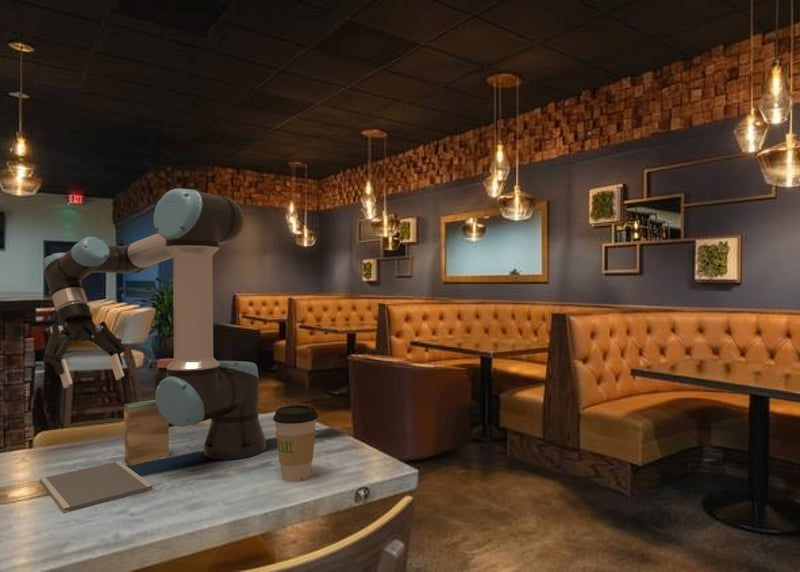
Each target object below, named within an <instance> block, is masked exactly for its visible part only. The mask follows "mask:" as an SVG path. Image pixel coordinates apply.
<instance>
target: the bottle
mask: <svg viewBox="0 0 800 572" xmlns="http://www.w3.org/2000/svg"><path fill="white" fill-rule="evenodd" d="M173 359H174V358H173V357H172V358H168V357H167V358H159V359H157V369H158V372H157V373H156V374H155V375H154V381H153V383H154V385H153V386H154V389H153V390H154V394H153V395H155V393H156V388H157V386H159V383H160V382H161V381H162V380H163V379H165V378H166V377H167V366H168V365H169V364H170V363H171V362H172V361H173ZM154 400H156V399H155V398H154ZM171 427H174V425H172V424H170V423H169V428H171Z"/></svg>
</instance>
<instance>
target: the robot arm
mask: <svg viewBox="0 0 800 572" xmlns="http://www.w3.org/2000/svg"><path fill="white" fill-rule="evenodd" d="M153 224H154V228H155V230H156V231H157V233H155V234H152V235H150V236H147V237H144V238H142V239H140V240H139V239H138V240H136V241H134V242H131V243H129V244H127V245H122V246H121V245H111V244H110V245H107V243H106V242H105V241H104V240H102V239H100V238H98V237H96V236H87V237H86V236H85V237H84V238H82V239H81V240H80V241H78V242H77V243H75V244H74V245H73V247H72V248H70V249H69V250H68V251H67V252H57V253H56V252H55V253H51V255H48V256H46V257H44V259H43V260H42V267H43V276H44V277H45V280H46V284H47V287H48V289H49V292H50V295H51V299H52V302H53V304H54V308H55V311H56V316H57V319H58V322H59V324H58V323H54V324H52V325H51V326H50V327H49V328H48V335H49V337H48V340H47V344H46V348H45V351H44V355H43V358H42V361H43V362H44V363H49V364H50V365H51V366H53V367H54V371H55V374H56V375H57V376H59V377H60V380H61V383H62V386H63V389H67V388H69V387H70V386H71V385H72V384H73V380H72V377H71V373H70V370H69V366H68V363H67V360H66V359H65V358H63V356H64V355H65V353H66V351H68V349H69V347H70V345H71V344H72V342H75V343H77V342H87V341H88V342H89V343H93V344H94V345H96V346H97V347H98V348H99V349H101V350H102V351H104V352H105V353H107V354H108V355H109V356H110V357H109V362H110V365H111V369H112V372H113V374H114V377H115V380H116V381H119V380H121V379H122V378H123V377H125V373H124V371H123V365H124V363H123V360H122V357H121V354H123V352H125V351H126V350H127V349H126V347H125V345H124V344H123V343H122V342H120V340H119V339H118V338H117V337H116V335H115V334H114V333H113V332H112V331H111V330H110V329H109V327H108V326H107V323H106V322H105V321H101V322H99V323H95V322H93V315H92V312H91V308H90V305H88V304H89V302H88V301H89V300H88V299H87V296H86V292H85V289H84V287H83V283H82V280H84V279H85V278H86V277H88V276H89V275H90V274H92V273H103V274H105V273H111V274H112V273H113V274H114V273H115V274H116V273H117V274H141V273H145V272H147V271H148V269H149V268H150V267H151V266H152V265H157V264H159V263H162V262H164V261H168V260H171V259H172V277H173V278H172V279H173V280H172V281H173V283H172V286H173V287H172V288H173V289H172V290H173V291H172V292H173V294H172V295H173V297H172V299H173V306H172V307H173V358H172V359H173V361H172V362H171V363H170V364H169V365H168V366H167V377H166V378H165V379H163V380H162V381H161V382H160V383H159V386H157V388H156V393H155V394H154V400H155V399H156V405H157V408H158V410H159V412H160V414H161V415H162V416H163V417H164V418H165V420H166V421H167V422H169V423H170V424H172V425H174V426H175V427H180V428H183V427H188V426H195V425H199V424H200V423H204V422H206V421H208V420H210V425H209V429H208V432H207V434H206V437H205V442H204V445H203V454H204V457H206V458H208V459H209V458H210V459H214V460H219V461H220V460H223V461H227V460H230V461H231V460H238V459H240V460H241V459H246V458H250V457H254V456H257V455H258V454H262V453H263V452H264V451H265V450H266V446H267V444H266V443H267V442H266V437H265V433H264V432H263V431H264V430H263V427H262V425H261V422H260V420H259V418H260V417H259V378H260V377H259V370H258V369H259V368H258V366H257V364H256V363H254V362H251V361H241V360H240V361H237V360H217V359H216V358H214V311H213V309H214V304H213V303H214V301H213V300H214V296H213V294H214V293H213V292H214V291H213V289H214V287H213V286H214V285H213V282H214V281H213V256H214V254H216V252H218V251H219V249H220V246H223V245H226V244H228V243H231V242H233V241H235V240H236V239H238V237H240V235H241V233H242V231H243V230H244V225H245V219H244V213H243V210H242V209H241V207H240V206H239V205H238V204H237V202H235V201H234V200H233V199H231V198H229V197H227V196H224V195H216V194H213V193H208V192H204V191H200V190H196V189H194V188H193V189H191V188H190V189H189V188H174V189H171V190H168V191H166V192H165V194H163V195H162V198H161V199H159V200H158V201H157V204H156V206H155V209H154V213H153ZM60 333H62V334H63V335H65V337H64V339H63V340H62V343H61V345H60V346H59V348H58V349H57V351H56V352H55V350H56V348H57V343H58V340H59V336H60ZM62 358H63V359H62ZM174 426H173V427H174Z"/></svg>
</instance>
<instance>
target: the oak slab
mask: <svg viewBox="0 0 800 572" xmlns="http://www.w3.org/2000/svg"><path fill="white" fill-rule="evenodd" d="M123 415H124V417H123V419H124V424H123V425H124V463H125V462H126V463H125V464H127V465H130V466H129V467H132V465H133V466H136V464H137V465H141V464H144V462H146V463H149V462H148V461H150V462H152V461H151V460H155V461H157V460H156V459H159V460H161V459H160V458H163V457H168V456H169V457H170V438H169V437H170V435H169V434H170V433H169V432H170V429H169V428H170V427H169V422H167V421H166V420H165V418H164V417H163V416H162V415H161V414H160V412H159V410H158V408H157V405H156V400H155V399H151V400H144V401H137V402H131V403H124V404H123ZM169 457H168V458H169ZM163 459H164V458H163ZM140 463H141V464H140Z"/></svg>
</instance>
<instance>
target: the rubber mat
mask: <svg viewBox="0 0 800 572" xmlns="http://www.w3.org/2000/svg"><path fill="white" fill-rule="evenodd" d="M39 483H40V484H41V486H42V487H43V488H44V489H45V491H46V492H47V493H48V494H49V496H50V497H51V498H52V499H53V501H54V502H55V503H56V505H57V506H58V507H59V509H60V510H61V511H62V512H63V514H64V513H69V512H72V511H76V510H79V509H83V508H84V509H85V508H88V507H91V506H95V505H99V504H102V503H107V502H111V501H114V500H118V499H122V498H125V497H129V496H133V495H137V494H141V493H144V492H149V491H152V490H153V484H151V483H150V482H148V481H147V480H146V479H144V478H143V477H142V476H140V475H139V474H138V473H136V472H135V471H134V470H133V469H131V468H129V467H128V466H127V465H125V464H124V462H122V461H120V460H117V461H114V462H109V463H105V464H100V465H95V466H94V465H93V466H90V467H86V468H81V469H77V470H74V471H73V470H72V471H67V472H63V473H59V474H53V475H50V476H49V475H48V476H44V477H39Z"/></svg>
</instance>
